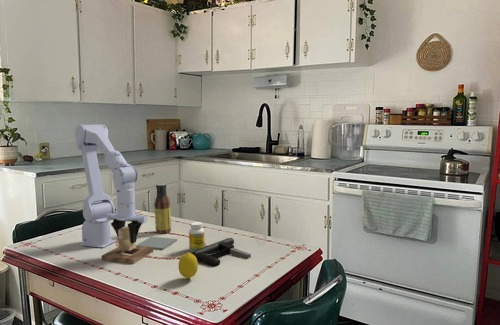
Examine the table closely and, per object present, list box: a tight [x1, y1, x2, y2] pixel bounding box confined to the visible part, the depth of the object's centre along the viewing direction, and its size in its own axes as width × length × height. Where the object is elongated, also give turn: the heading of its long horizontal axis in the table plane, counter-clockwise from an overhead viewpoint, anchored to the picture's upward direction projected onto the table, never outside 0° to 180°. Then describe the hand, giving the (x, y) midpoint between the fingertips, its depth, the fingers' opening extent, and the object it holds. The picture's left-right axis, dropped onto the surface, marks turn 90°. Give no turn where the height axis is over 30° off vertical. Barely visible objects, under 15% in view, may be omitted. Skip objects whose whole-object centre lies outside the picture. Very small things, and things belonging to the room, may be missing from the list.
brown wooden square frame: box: [101, 246, 154, 265], centre depth 135 cm, size 12×12×2 cm
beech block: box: [118, 225, 137, 251], centre depth 134 cm, size 4×4×7 cm
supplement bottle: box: [188, 221, 206, 253], centre depth 140 cm, size 5×5×10 cm
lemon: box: [178, 252, 199, 280], centre depth 115 cm, size 6×6×8 cm
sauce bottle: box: [154, 182, 172, 235], centre depth 161 cm, size 6×6×20 cm
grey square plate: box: [136, 236, 178, 251], centre depth 147 cm, size 11×11×1 cm
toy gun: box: [190, 237, 252, 267], centre depth 135 cm, size 3×20×16 cm
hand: (127, 242), depth 134 cm, fingers closed on beech block, 4 cm apart
